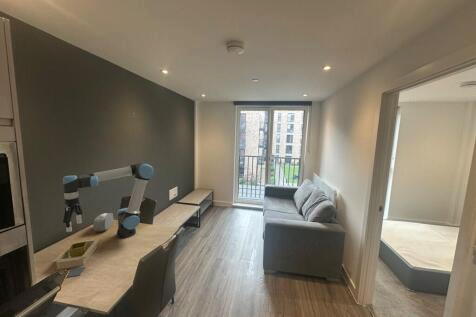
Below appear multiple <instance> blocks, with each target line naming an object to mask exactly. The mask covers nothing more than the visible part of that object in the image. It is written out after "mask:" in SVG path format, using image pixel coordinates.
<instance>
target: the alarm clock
mask: <svg viewBox="0 0 476 317" xmlns="http://www.w3.org/2000/svg"><path fill="white" fill-rule="evenodd" d="M113 224H114V214H113V212H108V213H107V212H105V213H100V214H99V215H97V216H96V217H95V218H94V220H93V224H92V226H93V231H94V232H97V231H98V232H105V231H104V230H106V231H108V230H109V229H110V228H111V226H113Z"/></svg>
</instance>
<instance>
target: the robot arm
mask: <svg viewBox="0 0 476 317" xmlns="http://www.w3.org/2000/svg"><path fill="white" fill-rule="evenodd" d="M154 172H155V170H154V168H153V166H152V165H150V164H148V163H144V162H138V163H134V164H130V165H129V164H128V166H125V167H120V168H115V169H108V170H104V171H103V170H102V171H97V172H93V173H92V172H91V173H84V174H81V175H80V176H79V177H78V175H74V174H73V175H65V176H63V178H62V186H63V187H62V188H63V196H64V204H65V205H67V207H65V208H64V214H63V215H64V216H63V222H62V223H63V224H65V231H66V233H69V232H73V229H72V228H73V227H72V221H71V220H72V216H73V214H74V213H75V214H76V215H75V217H76V219H75V220H76V224H77V225H79V224H82V215H83V210H82V206H81V204H80V198H79V190H80V189H85V188H91V187H92V188H93V187H98V186H99V182H104V181H108V180H114V179H119V178H123V177H124V178H125V177H127V176H130V177H134V179H135V183H134V186H133V189H132V193H131V197H130V200H129V203H128V207H124V208H120V209H118V210H117V211H116V212H117V226H118V227H117V231H116V234H115V236H116V237H117V238H118V239H126V238H130V237H132V236H134V235H135V234H136V233H137V229H136V228H137V227H139V225H140V221H141V220H140V215H141V211H140V207H141V204H142V200H143V197H144V194H145V190H146V186H147V184H148V182H150V179H151V178H152V177H153V175H154Z"/></svg>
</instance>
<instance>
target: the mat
mask: <svg viewBox="0 0 476 317" xmlns="http://www.w3.org/2000/svg"><path fill="white" fill-rule="evenodd" d="M69 269H70V271H69V273H68V275H67V277H68V278H70V277H69V276H74V277H78V276H81V274H82V273H83V272H84V270H85V269H86V266H79V267H73V268H69ZM67 277H66V278H65V279H68V278H67Z"/></svg>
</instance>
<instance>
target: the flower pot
mask: <svg viewBox="0 0 476 317" xmlns="http://www.w3.org/2000/svg"><path fill="white" fill-rule="evenodd" d="M74 243H75V242H74ZM86 248H87V241H85V242H80V243H75V244H72V245H71V247H70V248H69V253H70V258H74V257H80V256H83V255H84V253H85V252H86V251H87V249H86Z"/></svg>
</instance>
